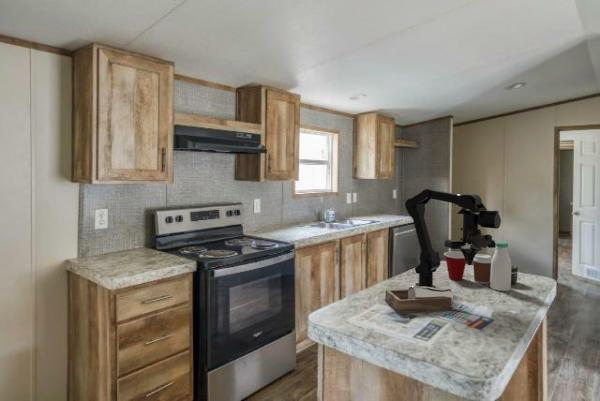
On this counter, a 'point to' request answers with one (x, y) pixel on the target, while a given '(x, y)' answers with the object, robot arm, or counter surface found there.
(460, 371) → the counter surface
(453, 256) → the plastic cup
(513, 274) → the jar
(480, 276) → the coffee cup
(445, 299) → the wooden tray
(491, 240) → the robot arm
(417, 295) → the beer glass
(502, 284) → the milk bottle
